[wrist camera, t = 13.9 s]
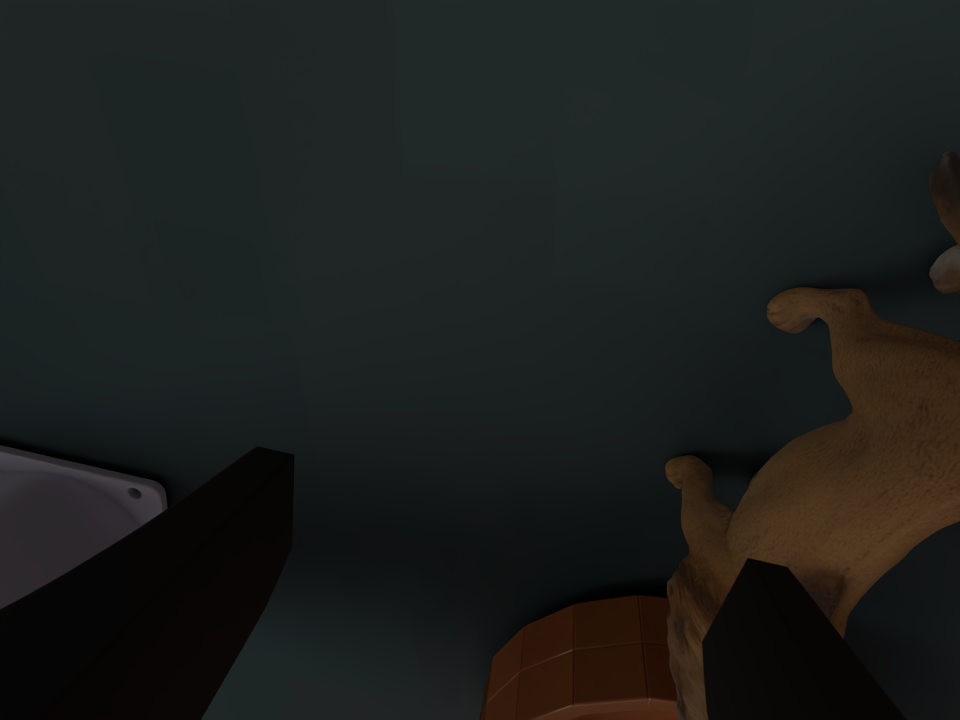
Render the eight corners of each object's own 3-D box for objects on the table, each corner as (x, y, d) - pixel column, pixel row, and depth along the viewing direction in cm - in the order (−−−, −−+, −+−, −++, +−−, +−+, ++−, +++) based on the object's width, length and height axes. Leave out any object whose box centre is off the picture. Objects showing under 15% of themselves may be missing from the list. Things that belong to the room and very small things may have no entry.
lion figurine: (765, 586, 22) (865, 901, 14) (618, 547, 22) (638, 839, 14) (1042, 172, 15) (1559, 358, 7) (820, 116, 15) (1084, 237, 7)
